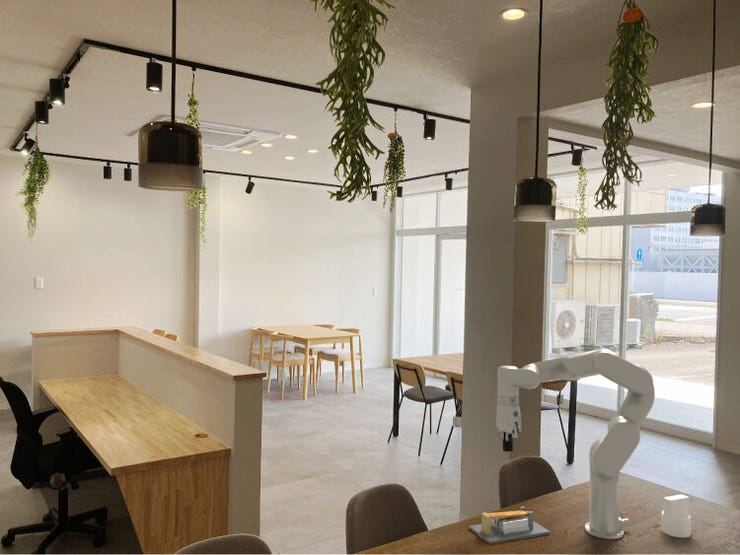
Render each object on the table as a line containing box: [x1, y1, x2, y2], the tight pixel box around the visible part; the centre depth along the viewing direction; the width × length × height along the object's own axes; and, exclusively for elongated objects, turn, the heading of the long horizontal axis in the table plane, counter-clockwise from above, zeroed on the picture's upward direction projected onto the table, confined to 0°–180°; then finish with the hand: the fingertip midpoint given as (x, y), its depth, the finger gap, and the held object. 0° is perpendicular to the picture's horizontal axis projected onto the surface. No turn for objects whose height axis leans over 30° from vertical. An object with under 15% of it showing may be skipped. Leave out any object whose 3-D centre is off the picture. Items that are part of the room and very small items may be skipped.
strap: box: [486, 510, 529, 519], centre depth 205 cm, size 16×3×1 cm, turn 110°
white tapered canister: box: [661, 494, 692, 538], centre depth 206 cm, size 9×9×12 cm
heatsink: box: [491, 516, 529, 536], centre depth 205 cm, size 10×9×4 cm
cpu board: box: [468, 506, 551, 544], centre depth 205 cm, size 24×13×7 cm, turn 110°
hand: (507, 450), depth 216 cm, fingers closed
